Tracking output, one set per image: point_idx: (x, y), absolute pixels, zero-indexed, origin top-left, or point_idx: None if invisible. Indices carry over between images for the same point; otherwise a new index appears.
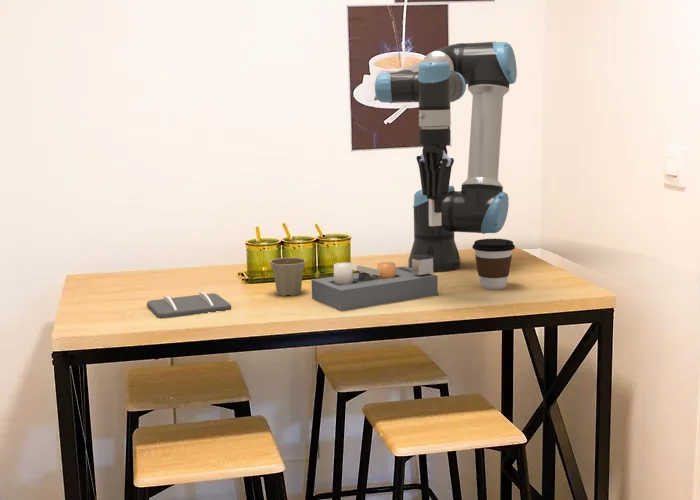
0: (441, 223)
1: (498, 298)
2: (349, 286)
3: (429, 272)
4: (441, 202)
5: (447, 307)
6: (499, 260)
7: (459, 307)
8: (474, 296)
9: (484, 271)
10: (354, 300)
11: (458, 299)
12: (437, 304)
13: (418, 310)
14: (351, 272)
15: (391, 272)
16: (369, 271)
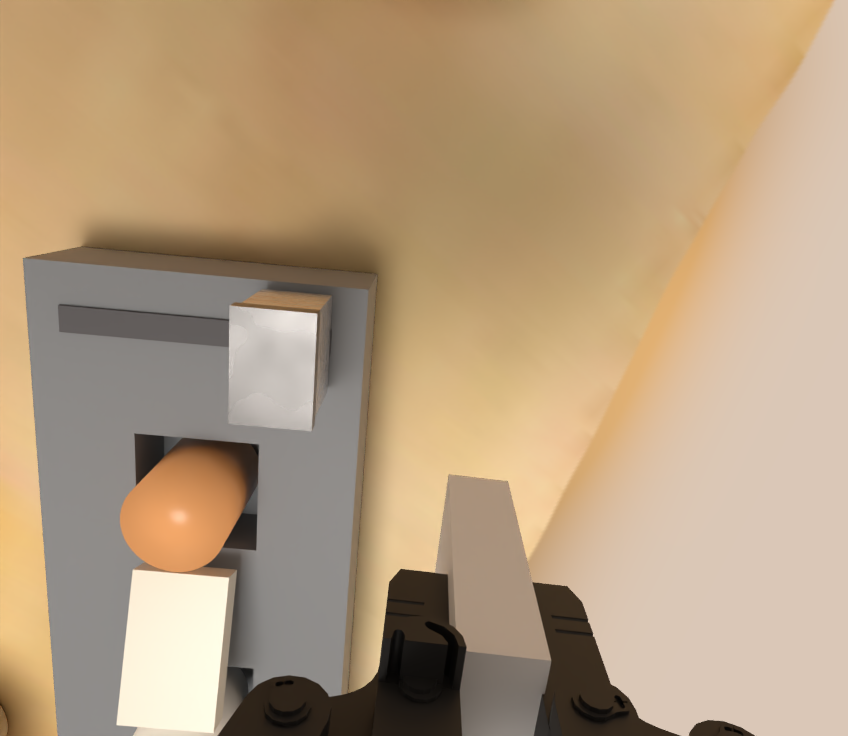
0: (509, 489)
1: (639, 81)
2: None
3: (330, 322)
4: (604, 676)
5: (589, 395)
6: None
7: (628, 356)
8: (520, 148)
9: None
10: None
11: (512, 255)
12: (517, 393)
13: (541, 515)
14: (218, 731)
15: (238, 509)
16: (228, 641)
